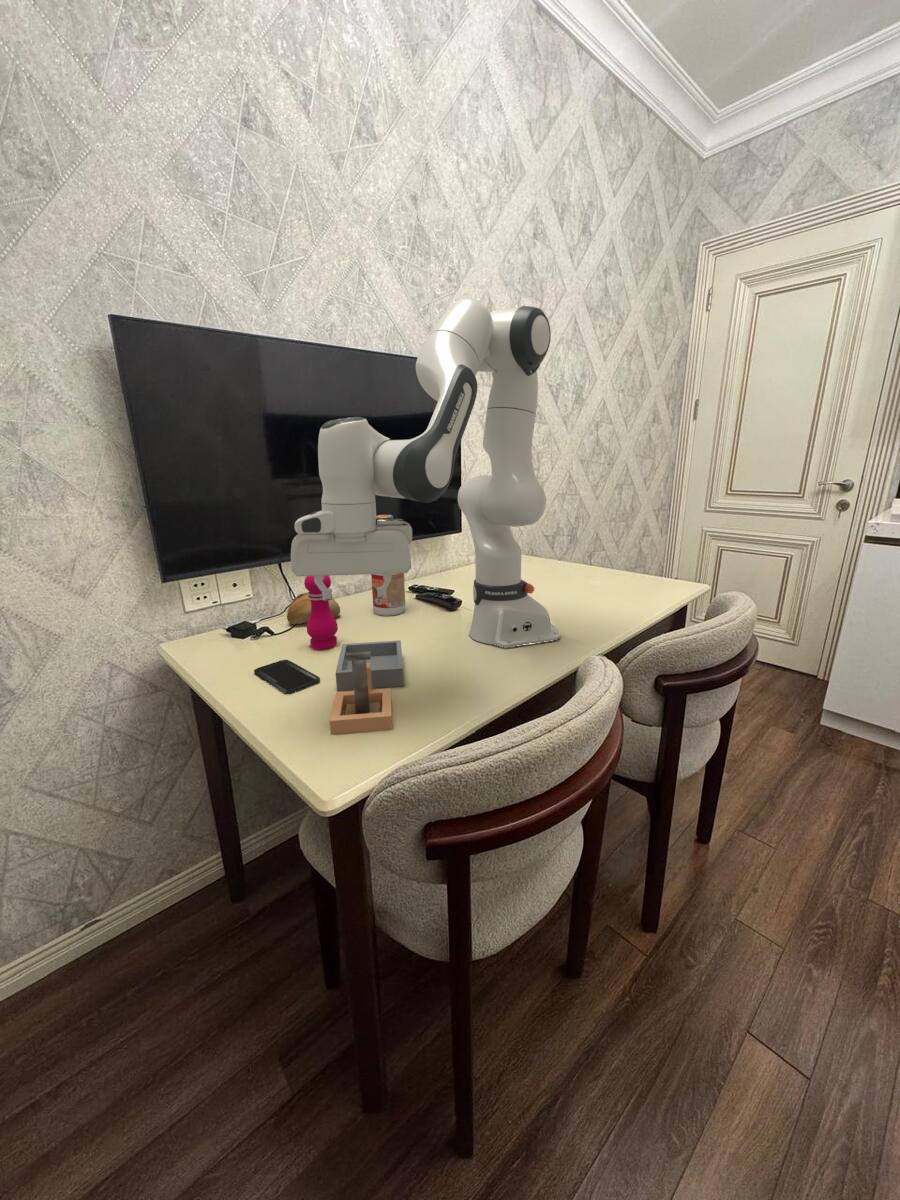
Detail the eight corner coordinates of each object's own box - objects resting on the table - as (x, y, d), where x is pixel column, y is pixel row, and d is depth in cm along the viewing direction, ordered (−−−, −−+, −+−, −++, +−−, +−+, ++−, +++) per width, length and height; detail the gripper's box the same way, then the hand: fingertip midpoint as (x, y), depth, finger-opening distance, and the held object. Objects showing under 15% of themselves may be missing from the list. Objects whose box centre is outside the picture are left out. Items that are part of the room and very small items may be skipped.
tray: (401, 655, 109) (400, 640, 108) (403, 685, 95) (402, 668, 94) (343, 659, 107) (342, 644, 106) (337, 690, 93) (335, 672, 92)
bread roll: (282, 621, 134) (278, 594, 131) (332, 611, 142) (330, 585, 140) (293, 631, 126) (290, 602, 124) (346, 619, 135) (344, 592, 132)
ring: (391, 694, 91) (389, 661, 89) (391, 729, 80) (389, 691, 78) (338, 698, 90) (334, 664, 88) (330, 734, 78) (327, 696, 76)
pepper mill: (331, 652, 112) (323, 568, 106) (303, 650, 113) (293, 568, 107) (344, 640, 118) (337, 562, 113) (317, 639, 120) (309, 561, 114)
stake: (380, 706, 87) (376, 645, 83) (380, 723, 81) (375, 659, 78) (347, 708, 86) (341, 647, 83) (344, 726, 81) (338, 661, 77)
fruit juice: (403, 616, 136) (398, 517, 128) (370, 616, 136) (363, 518, 128) (407, 606, 145) (403, 513, 137) (376, 606, 145) (370, 513, 137)
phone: (286, 658, 107) (322, 678, 97) (286, 663, 107) (322, 683, 97) (251, 670, 101) (286, 692, 91) (252, 674, 102) (286, 697, 92)
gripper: (411, 516, 84) (413, 591, 88) (292, 518, 82) (299, 595, 86) (412, 520, 78) (414, 601, 82) (284, 523, 76) (292, 606, 80)
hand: (354, 598), depth 84 cm, fingers open, 8 cm apart
